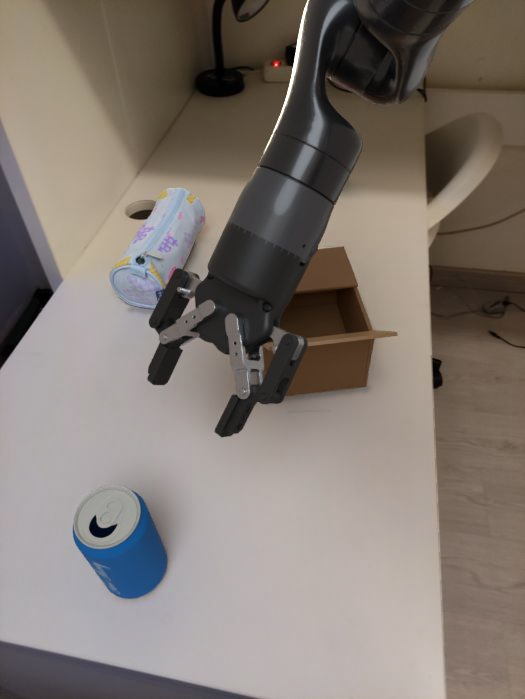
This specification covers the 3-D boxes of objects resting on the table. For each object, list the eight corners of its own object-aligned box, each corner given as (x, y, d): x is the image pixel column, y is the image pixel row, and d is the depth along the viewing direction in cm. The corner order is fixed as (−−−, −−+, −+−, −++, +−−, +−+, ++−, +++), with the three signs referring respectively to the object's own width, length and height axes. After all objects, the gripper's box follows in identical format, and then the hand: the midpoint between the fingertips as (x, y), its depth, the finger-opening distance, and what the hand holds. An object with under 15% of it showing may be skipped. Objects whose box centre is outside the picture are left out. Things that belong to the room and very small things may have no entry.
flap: (375, 330, 61) (375, 333, 61) (263, 343, 60) (263, 346, 60) (397, 331, 53) (397, 335, 53) (268, 346, 52) (269, 351, 52)
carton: (366, 386, 69) (376, 330, 61) (265, 399, 68) (262, 343, 60) (338, 302, 79) (344, 245, 72) (251, 312, 79) (247, 256, 71)
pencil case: (168, 318, 78) (156, 267, 71) (113, 310, 80) (96, 259, 73) (211, 234, 92) (204, 184, 85) (163, 228, 93) (153, 179, 86)
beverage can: (91, 586, 53) (52, 536, 44) (125, 527, 57) (95, 471, 48) (148, 611, 51) (119, 565, 42) (179, 549, 55) (159, 494, 46)
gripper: (183, 194, 44) (106, 366, 47) (322, 263, 37) (223, 458, 40) (232, 219, 51) (162, 370, 53) (358, 282, 44) (270, 449, 47)
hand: (188, 408), depth 47 cm, fingers open, 8 cm apart
